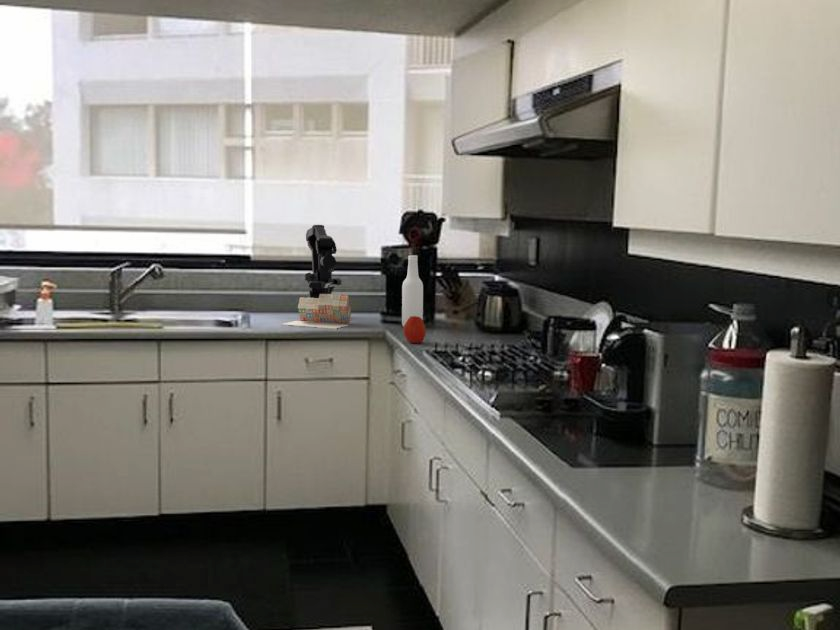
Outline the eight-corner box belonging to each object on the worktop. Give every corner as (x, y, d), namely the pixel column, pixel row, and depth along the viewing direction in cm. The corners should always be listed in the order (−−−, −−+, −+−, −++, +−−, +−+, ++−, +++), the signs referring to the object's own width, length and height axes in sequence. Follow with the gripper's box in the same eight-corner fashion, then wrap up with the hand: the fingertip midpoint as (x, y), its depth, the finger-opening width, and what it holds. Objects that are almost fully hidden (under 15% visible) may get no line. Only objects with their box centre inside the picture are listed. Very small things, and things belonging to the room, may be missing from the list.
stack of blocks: (300, 321, 393) (296, 303, 383) (303, 310, 396) (298, 292, 387) (349, 324, 390) (346, 306, 381) (351, 312, 394) (348, 294, 385)
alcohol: (397, 326, 385) (398, 255, 381) (410, 324, 391) (411, 254, 388) (414, 328, 379) (414, 256, 375) (426, 326, 386) (427, 255, 382)
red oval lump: (400, 343, 340) (400, 315, 339) (408, 340, 348) (408, 312, 347) (420, 345, 338) (421, 316, 336) (428, 341, 345) (429, 313, 344)
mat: (295, 321, 396) (295, 320, 396) (348, 325, 386) (348, 324, 386) (281, 325, 385) (281, 324, 385) (335, 329, 375) (335, 328, 375)
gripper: (319, 264, 402) (319, 299, 404) (297, 267, 385) (298, 304, 387) (341, 265, 398) (341, 301, 400) (320, 268, 381) (321, 305, 383)
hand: (325, 303), depth 393 cm, fingers closed
